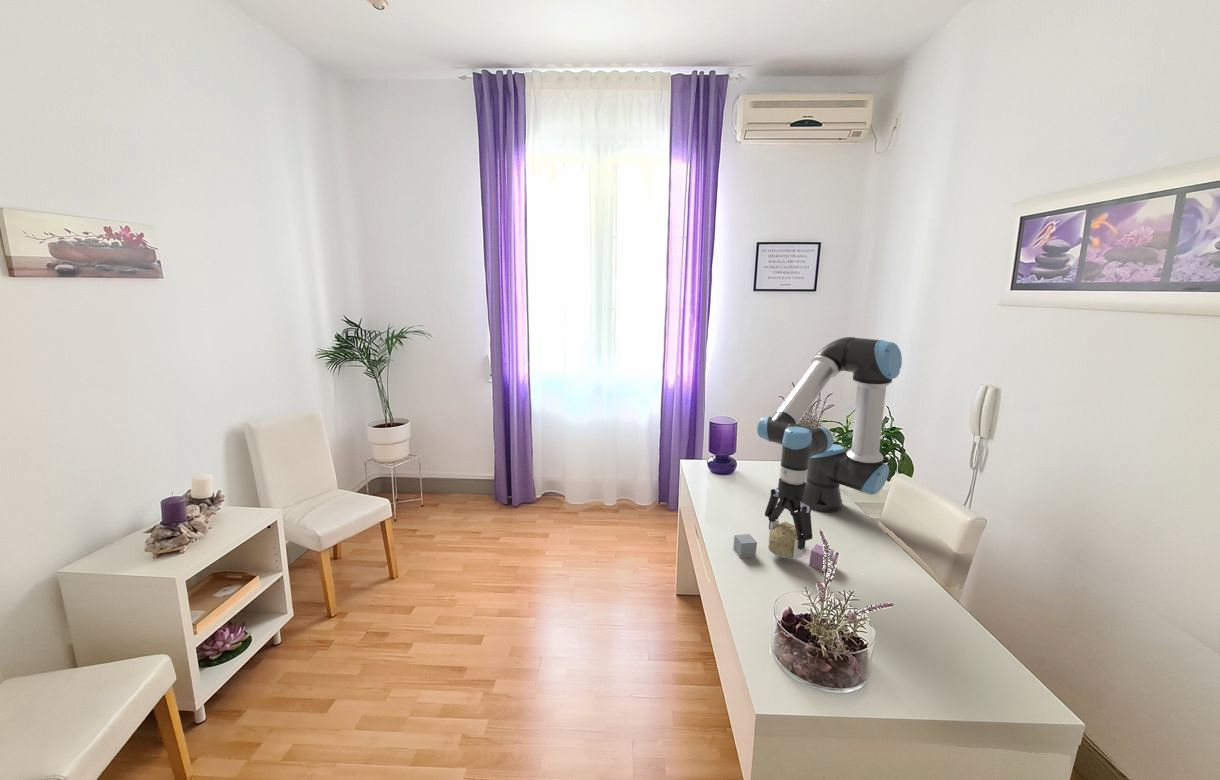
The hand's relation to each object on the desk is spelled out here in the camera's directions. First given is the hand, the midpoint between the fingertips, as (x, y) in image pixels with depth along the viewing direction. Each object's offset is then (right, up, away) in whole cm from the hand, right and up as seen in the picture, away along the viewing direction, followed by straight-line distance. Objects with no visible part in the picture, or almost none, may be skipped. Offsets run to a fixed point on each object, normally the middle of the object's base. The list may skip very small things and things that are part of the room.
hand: (784, 548), depth 149 cm
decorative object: (0, -1, 0) cm, 1 cm away
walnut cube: (+4, -1, +11) cm, 12 cm away
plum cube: (+10, -4, -2) cm, 11 cm away
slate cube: (-12, -2, +3) cm, 12 cm away
